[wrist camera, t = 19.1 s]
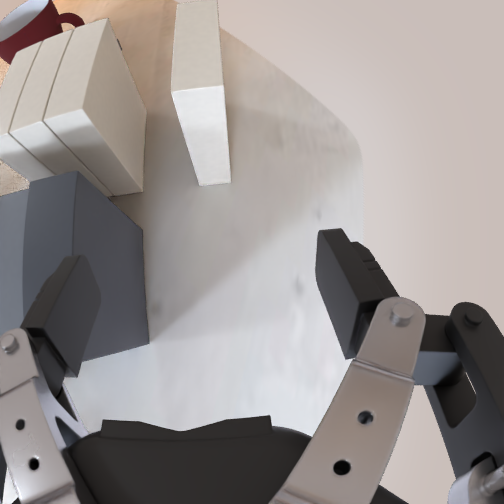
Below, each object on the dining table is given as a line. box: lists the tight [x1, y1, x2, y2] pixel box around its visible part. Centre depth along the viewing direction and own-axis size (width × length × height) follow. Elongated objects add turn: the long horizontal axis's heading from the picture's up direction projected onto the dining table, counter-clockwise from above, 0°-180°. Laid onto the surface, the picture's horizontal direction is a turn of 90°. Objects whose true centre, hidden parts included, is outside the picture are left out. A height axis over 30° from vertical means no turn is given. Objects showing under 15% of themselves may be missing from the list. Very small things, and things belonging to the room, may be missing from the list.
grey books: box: [0, 170, 149, 362], centre depth 18 cm, size 10×9×11 cm
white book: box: [171, 0, 231, 186], centre depth 20 cm, size 3×9×12 cm, turn 6°
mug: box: [0, 0, 85, 65], centre depth 23 cm, size 10×8×10 cm
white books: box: [0, 18, 147, 197], centre depth 20 cm, size 8×9×12 cm
